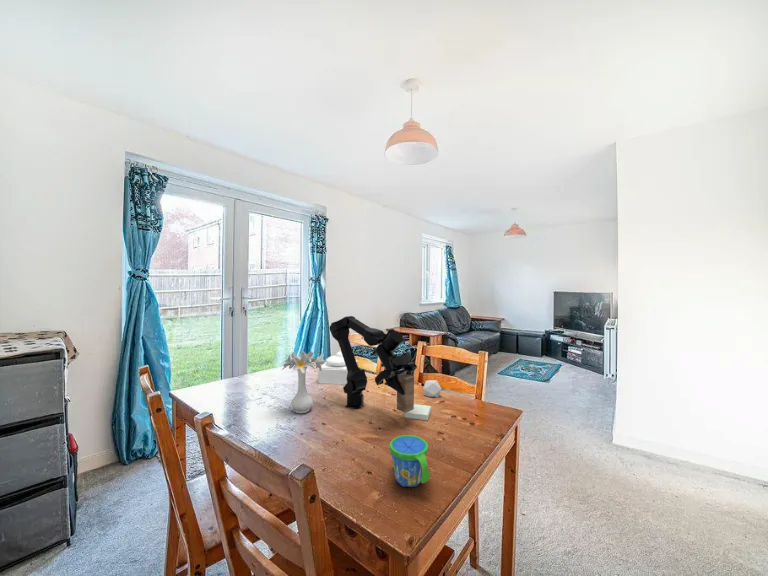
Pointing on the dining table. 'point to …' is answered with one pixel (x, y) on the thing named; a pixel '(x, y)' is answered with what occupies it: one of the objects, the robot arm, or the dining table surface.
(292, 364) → the flower vase
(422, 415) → the top slab
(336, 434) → the dining table surface
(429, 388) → the die
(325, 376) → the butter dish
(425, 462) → the snack cup
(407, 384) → the pillar
